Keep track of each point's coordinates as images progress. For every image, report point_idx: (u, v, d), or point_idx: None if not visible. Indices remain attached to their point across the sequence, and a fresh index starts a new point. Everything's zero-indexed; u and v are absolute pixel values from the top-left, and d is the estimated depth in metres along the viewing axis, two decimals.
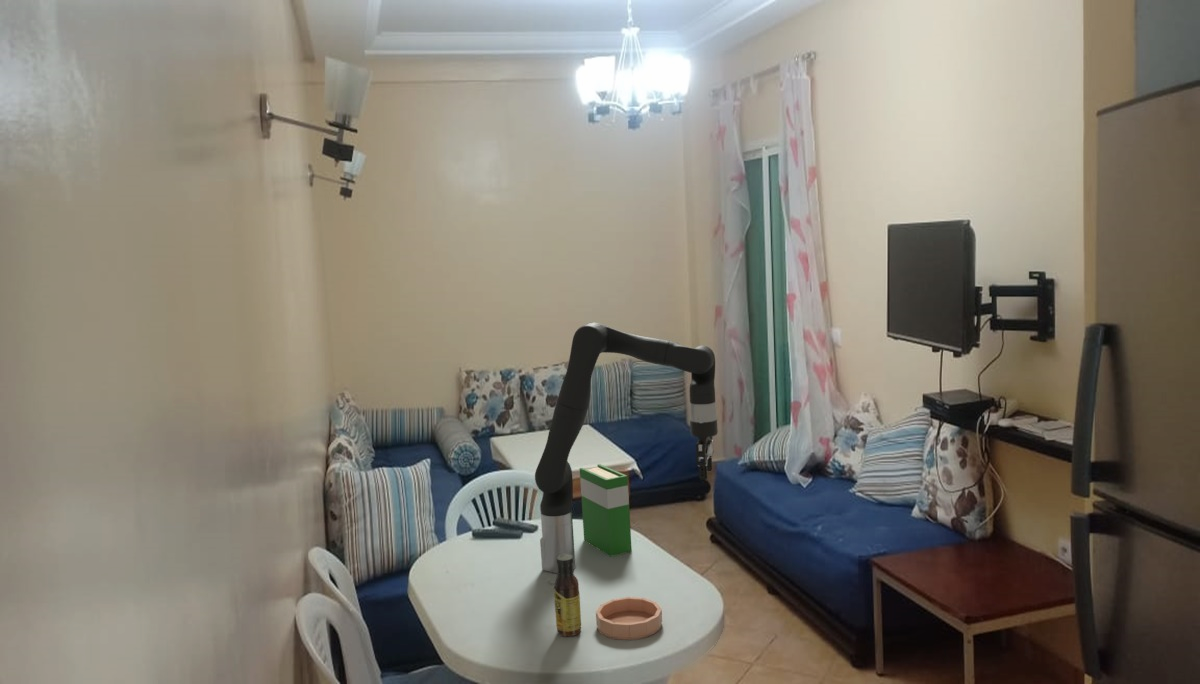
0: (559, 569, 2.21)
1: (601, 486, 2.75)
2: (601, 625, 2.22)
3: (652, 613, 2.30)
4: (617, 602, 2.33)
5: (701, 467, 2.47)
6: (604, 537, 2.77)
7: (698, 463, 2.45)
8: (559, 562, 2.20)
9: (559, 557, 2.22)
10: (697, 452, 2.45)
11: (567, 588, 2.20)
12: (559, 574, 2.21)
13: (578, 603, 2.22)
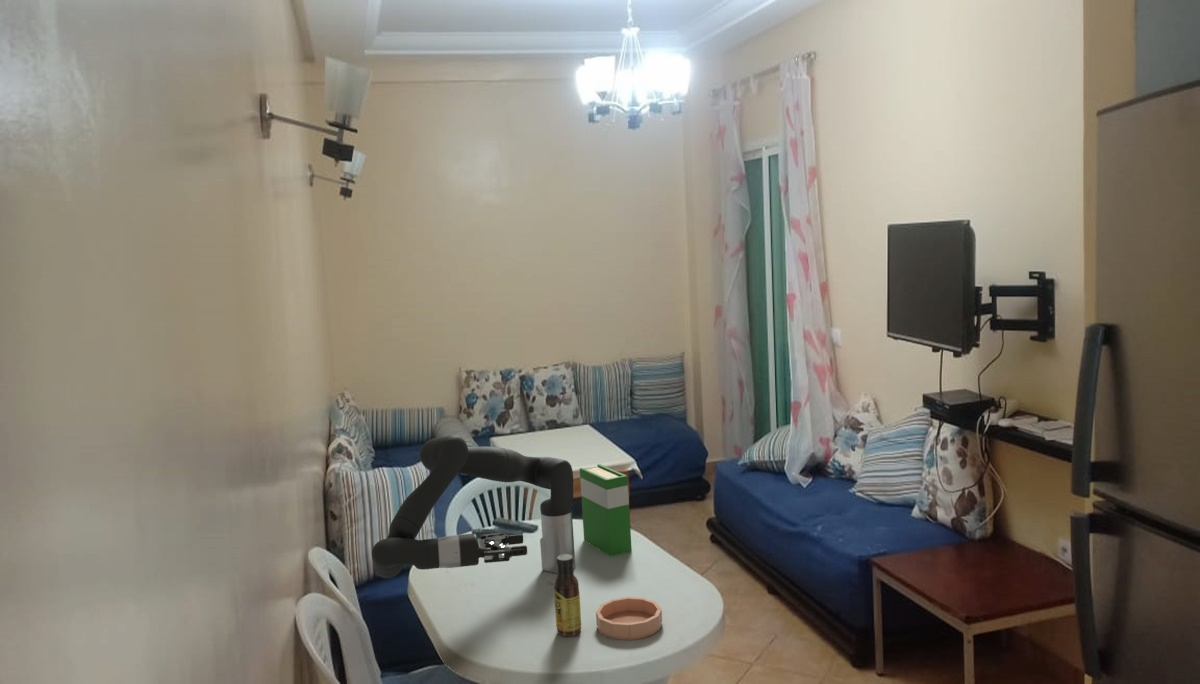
0: (559, 569, 2.21)
1: (601, 486, 2.75)
2: (601, 625, 2.22)
3: (652, 613, 2.30)
4: (617, 602, 2.33)
5: None
6: (604, 537, 2.77)
7: None
8: (559, 562, 2.20)
9: (559, 557, 2.22)
10: None
11: (567, 588, 2.20)
12: (559, 574, 2.21)
13: (578, 603, 2.22)
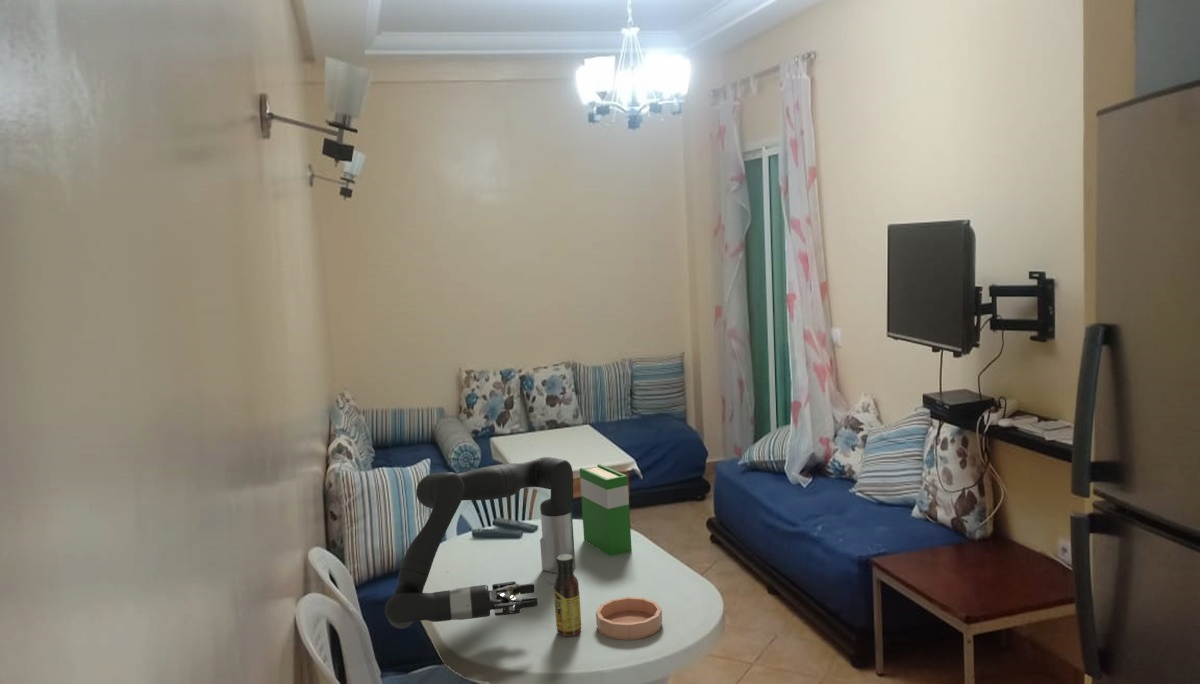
0: (559, 569, 2.21)
1: (601, 486, 2.75)
2: (601, 625, 2.22)
3: (652, 613, 2.30)
4: (617, 602, 2.33)
5: None
6: (604, 537, 2.77)
7: None
8: (559, 562, 2.20)
9: (559, 557, 2.22)
10: None
11: (567, 588, 2.20)
12: (559, 574, 2.21)
13: (578, 603, 2.22)
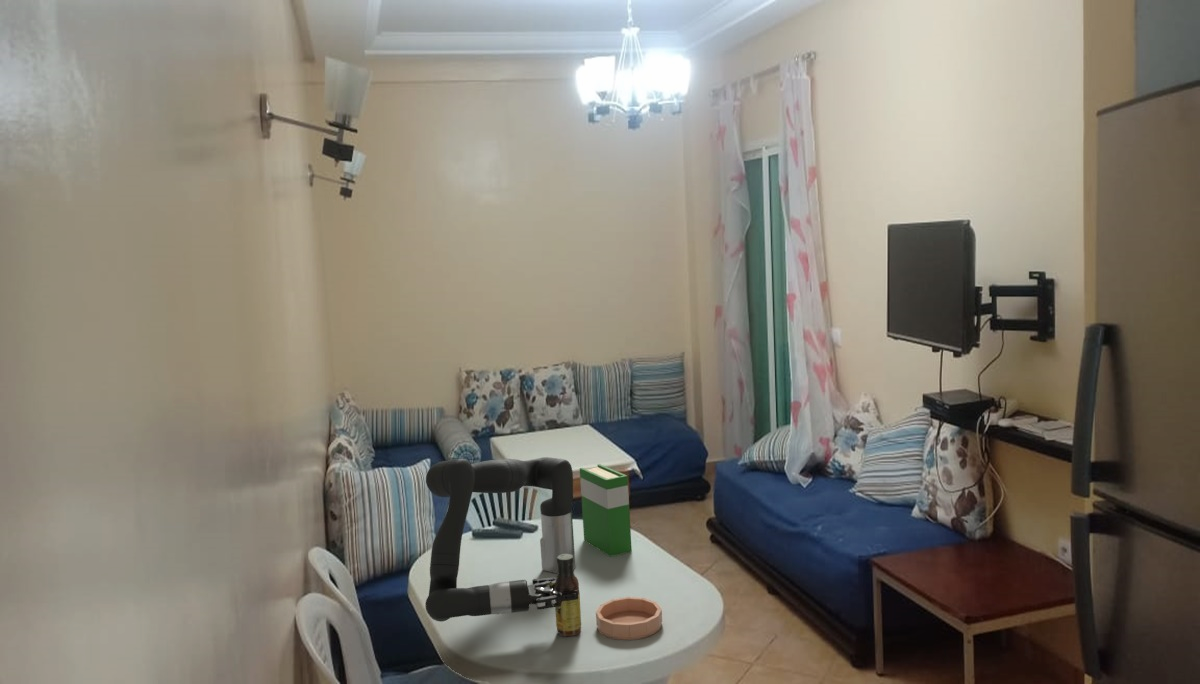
0: (559, 569, 2.21)
1: (601, 486, 2.75)
2: (601, 625, 2.22)
3: (652, 613, 2.30)
4: (617, 602, 2.33)
5: None
6: (604, 537, 2.77)
7: None
8: (559, 561, 2.20)
9: (559, 557, 2.22)
10: None
11: (567, 587, 2.20)
12: (559, 573, 2.21)
13: (578, 603, 2.22)
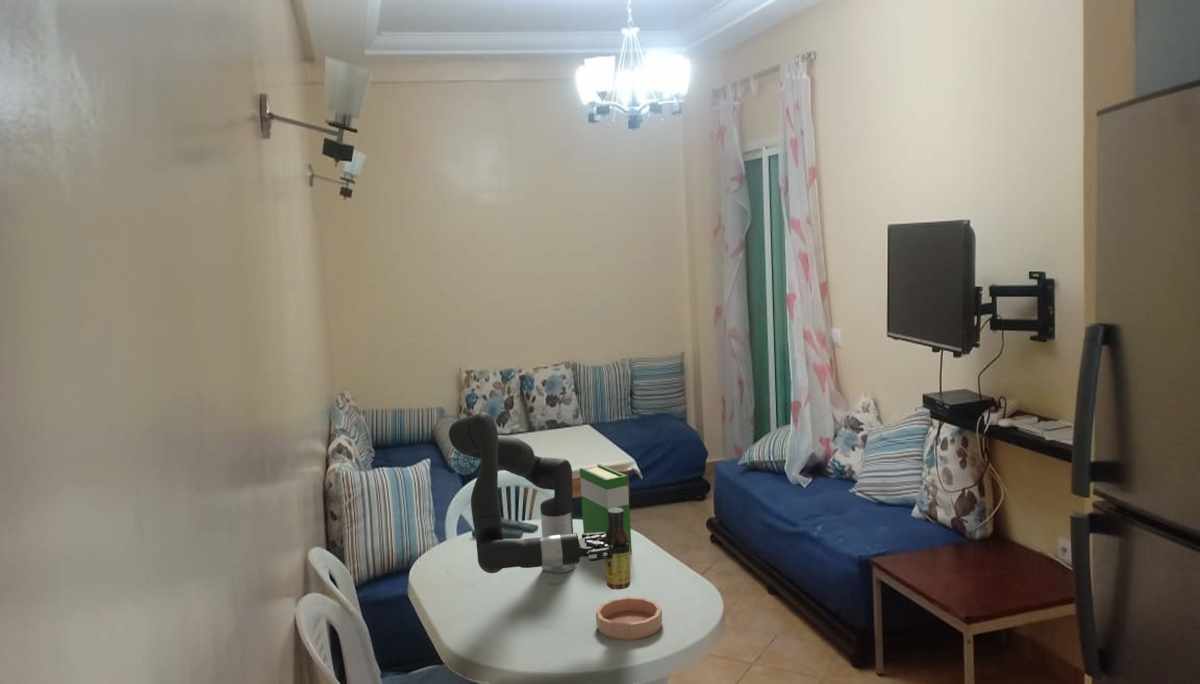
0: (610, 522, 2.21)
1: (601, 486, 2.75)
2: (601, 625, 2.22)
3: (652, 613, 2.30)
4: (617, 602, 2.33)
5: None
6: None
7: None
8: (610, 515, 2.21)
9: (610, 510, 2.22)
10: None
11: (618, 540, 2.20)
12: (610, 527, 2.21)
13: (628, 556, 2.23)
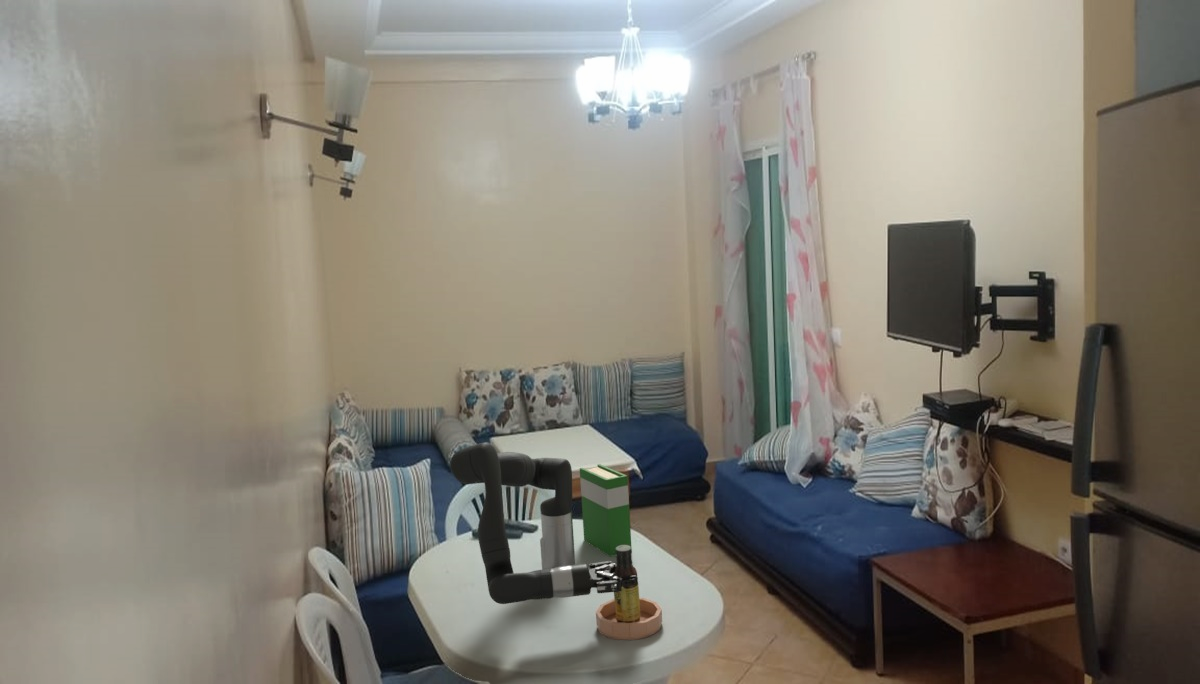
0: (618, 560, 2.22)
1: (601, 486, 2.75)
2: (601, 625, 2.22)
3: (652, 613, 2.30)
4: None
5: None
6: (604, 537, 2.77)
7: None
8: (618, 553, 2.22)
9: (618, 548, 2.23)
10: None
11: None
12: (618, 565, 2.23)
13: (637, 593, 2.24)
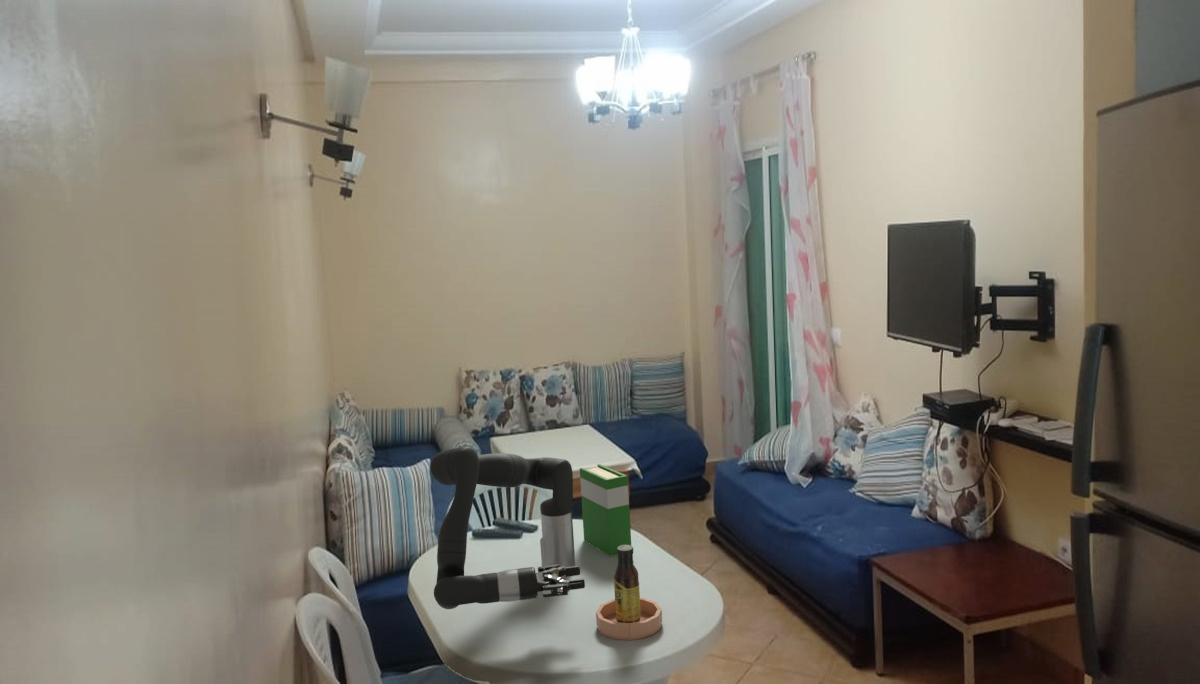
0: (619, 559, 2.23)
1: (601, 486, 2.75)
2: (601, 625, 2.22)
3: (652, 613, 2.30)
4: None
5: None
6: (604, 537, 2.77)
7: None
8: (619, 552, 2.22)
9: (619, 547, 2.23)
10: None
11: (627, 578, 2.22)
12: (620, 564, 2.23)
13: (638, 593, 2.24)
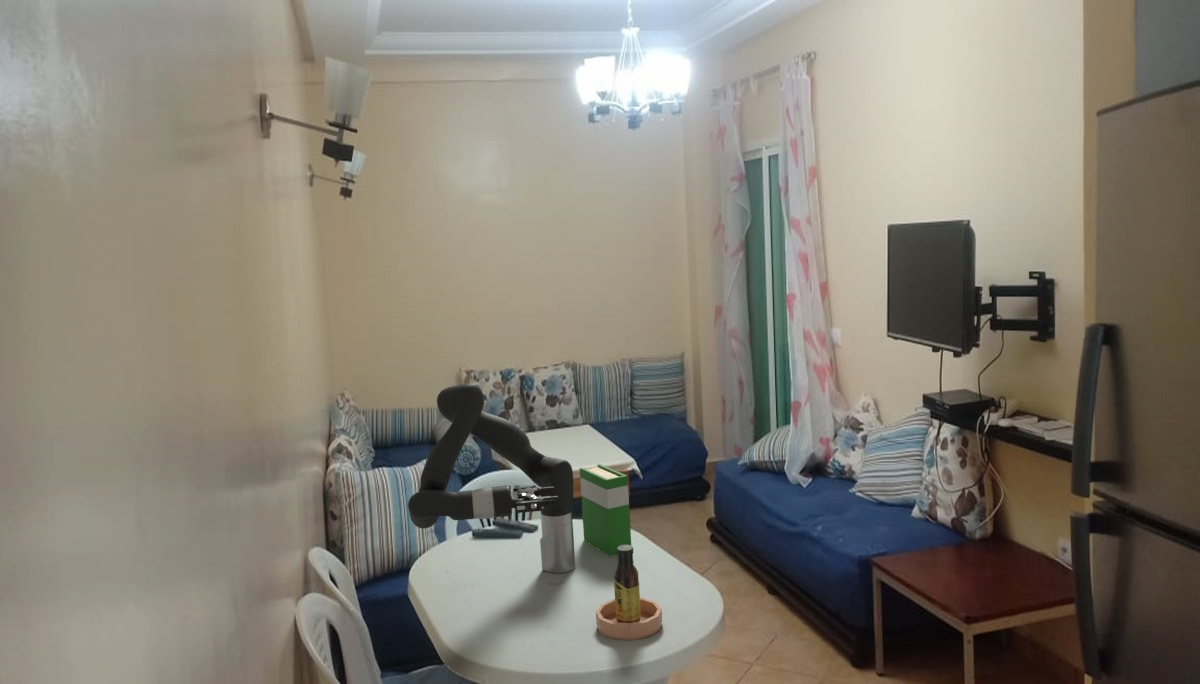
0: (620, 559, 2.23)
1: (601, 486, 2.75)
2: (601, 625, 2.22)
3: (652, 613, 2.30)
4: None
5: None
6: (604, 537, 2.77)
7: None
8: (619, 552, 2.22)
9: (619, 547, 2.23)
10: None
11: (627, 578, 2.22)
12: (620, 564, 2.23)
13: (638, 593, 2.24)
